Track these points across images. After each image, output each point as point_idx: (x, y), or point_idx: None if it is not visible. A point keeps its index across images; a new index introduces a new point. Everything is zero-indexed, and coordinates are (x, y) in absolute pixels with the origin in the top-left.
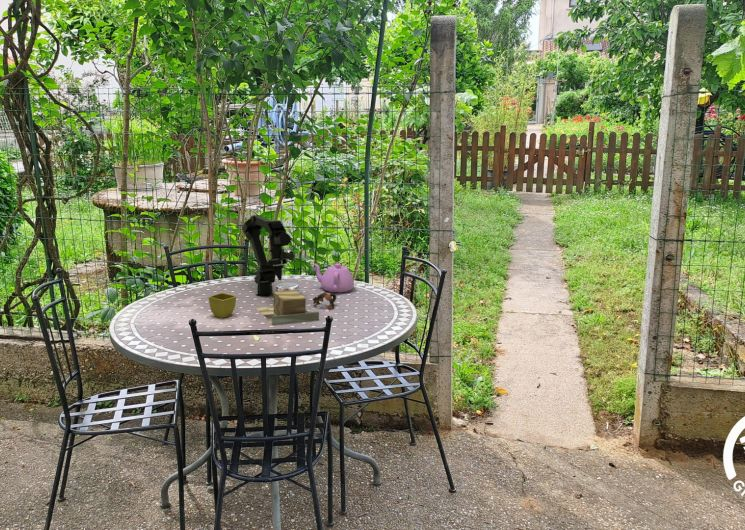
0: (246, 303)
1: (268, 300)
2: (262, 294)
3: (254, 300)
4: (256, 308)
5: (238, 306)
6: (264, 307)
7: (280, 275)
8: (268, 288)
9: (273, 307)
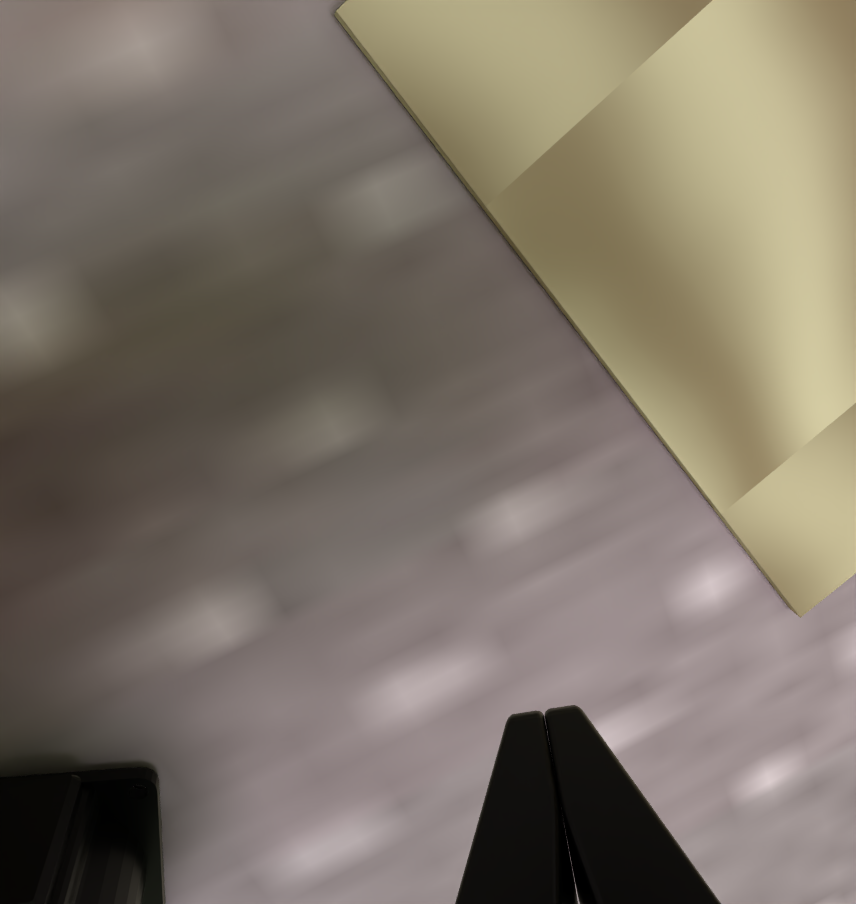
0: None
1: (320, 661)
2: (143, 867)
3: (411, 814)
4: (835, 587)
5: (738, 820)
6: (766, 514)
7: (687, 874)
8: (62, 901)
9: (734, 390)
